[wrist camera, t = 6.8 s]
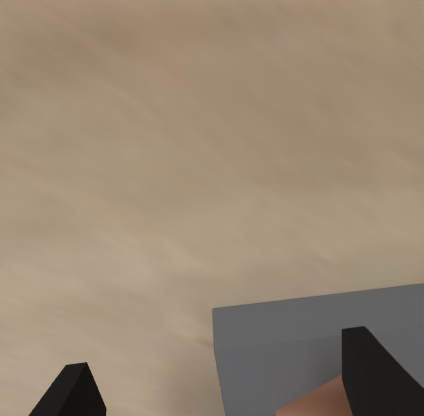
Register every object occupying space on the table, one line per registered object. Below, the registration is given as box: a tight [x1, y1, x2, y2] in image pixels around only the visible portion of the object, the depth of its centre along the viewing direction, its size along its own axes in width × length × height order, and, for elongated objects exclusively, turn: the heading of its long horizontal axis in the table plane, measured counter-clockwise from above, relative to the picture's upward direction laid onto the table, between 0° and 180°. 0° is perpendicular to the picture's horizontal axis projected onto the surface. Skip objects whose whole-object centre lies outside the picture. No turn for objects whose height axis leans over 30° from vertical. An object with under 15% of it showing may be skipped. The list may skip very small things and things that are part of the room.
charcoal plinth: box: [212, 284, 424, 416], centre depth 24 cm, size 12×12×3 cm
